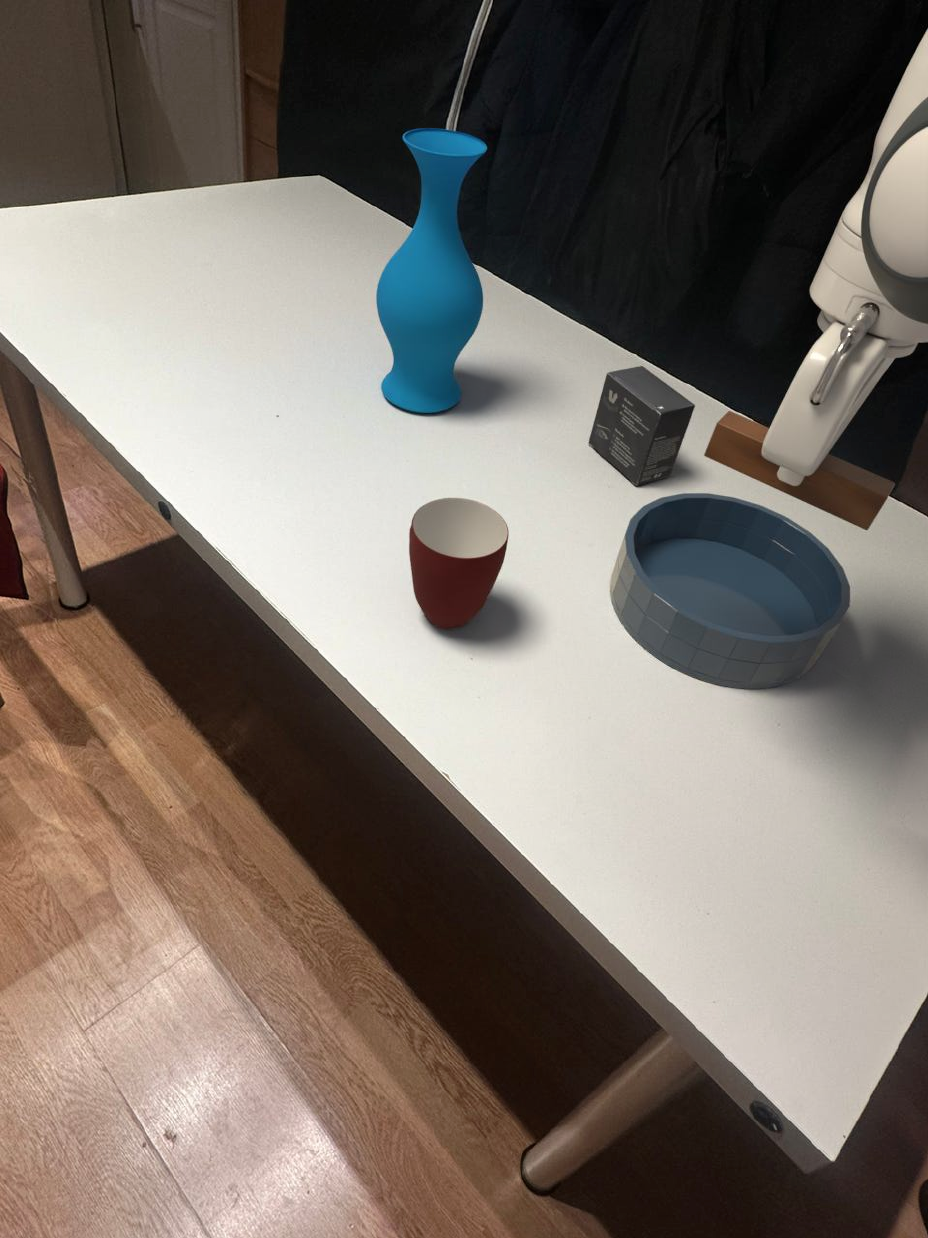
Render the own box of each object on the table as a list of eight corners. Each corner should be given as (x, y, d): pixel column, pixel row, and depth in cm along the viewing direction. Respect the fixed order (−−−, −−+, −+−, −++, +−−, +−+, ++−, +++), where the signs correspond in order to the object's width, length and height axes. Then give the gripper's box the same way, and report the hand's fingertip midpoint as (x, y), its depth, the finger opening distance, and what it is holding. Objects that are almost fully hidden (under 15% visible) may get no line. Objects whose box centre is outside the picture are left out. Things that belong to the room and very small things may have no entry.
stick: (875, 515, 61) (896, 482, 59) (867, 531, 59) (887, 497, 57) (715, 443, 65) (728, 409, 63) (703, 455, 63) (716, 422, 61)
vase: (473, 377, 106) (508, 134, 86) (464, 428, 97) (501, 169, 77) (381, 362, 106) (395, 115, 86) (363, 412, 97) (374, 148, 77)
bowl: (847, 602, 82) (875, 557, 78) (780, 727, 69) (810, 681, 65) (663, 514, 89) (680, 468, 85) (571, 612, 76) (585, 563, 72)
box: (672, 477, 95) (698, 404, 88) (635, 487, 92) (659, 413, 86) (622, 435, 100) (643, 363, 93) (586, 444, 98) (605, 370, 91)
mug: (368, 589, 75) (372, 501, 68) (435, 558, 79) (446, 472, 72) (441, 660, 70) (455, 572, 63) (509, 622, 74) (529, 536, 67)
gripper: (903, 357, 44) (795, 554, 53) (968, 260, 57) (872, 432, 66) (791, 315, 46) (706, 511, 55) (879, 230, 59) (798, 401, 68)
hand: (797, 467), depth 61 cm, fingers closed on stick, 2 cm apart
